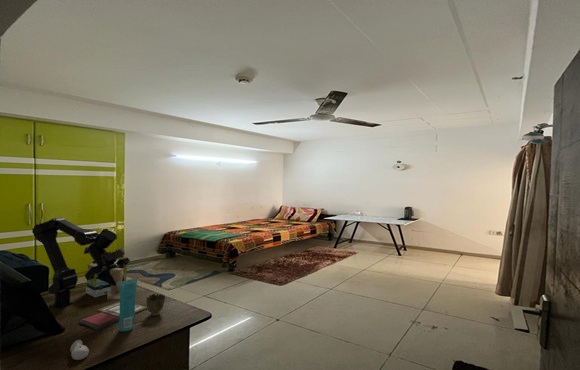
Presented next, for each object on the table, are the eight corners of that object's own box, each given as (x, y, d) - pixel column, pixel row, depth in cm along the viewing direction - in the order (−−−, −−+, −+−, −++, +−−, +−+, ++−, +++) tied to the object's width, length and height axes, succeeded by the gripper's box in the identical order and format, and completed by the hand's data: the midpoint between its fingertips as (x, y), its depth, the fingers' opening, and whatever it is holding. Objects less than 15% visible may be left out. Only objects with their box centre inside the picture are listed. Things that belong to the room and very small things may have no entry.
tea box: (95, 298, 144) (96, 267, 144) (85, 293, 150) (86, 263, 150) (126, 289, 157) (127, 261, 157) (116, 285, 162) (117, 258, 162)
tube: (130, 323, 121) (132, 276, 121) (139, 326, 119) (141, 278, 119) (113, 331, 114) (115, 281, 114) (122, 334, 112) (124, 283, 112)
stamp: (107, 300, 125) (109, 271, 125) (111, 296, 130) (113, 267, 130) (120, 300, 126) (122, 271, 126) (124, 296, 131) (125, 267, 131)
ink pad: (79, 323, 119) (79, 319, 119) (101, 314, 127) (101, 311, 127) (97, 329, 115) (97, 326, 115) (119, 320, 123) (119, 316, 123)
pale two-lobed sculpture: (87, 363, 96) (69, 363, 93) (84, 351, 102) (67, 351, 99) (93, 349, 97) (75, 349, 94) (90, 338, 103) (73, 338, 100)
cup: (157, 319, 125) (157, 300, 125) (141, 317, 127) (142, 298, 127) (167, 312, 132) (168, 294, 132) (153, 310, 134) (153, 292, 134)
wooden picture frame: (97, 311, 131) (97, 309, 131) (122, 301, 142) (122, 300, 142) (123, 319, 124) (123, 317, 124) (147, 308, 135) (147, 306, 135)
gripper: (92, 247, 120) (113, 278, 117) (127, 239, 138) (146, 266, 136) (75, 264, 122) (96, 295, 119) (113, 254, 140) (131, 281, 137)
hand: (119, 283), depth 128 cm, fingers closed on stamp, 4 cm apart
